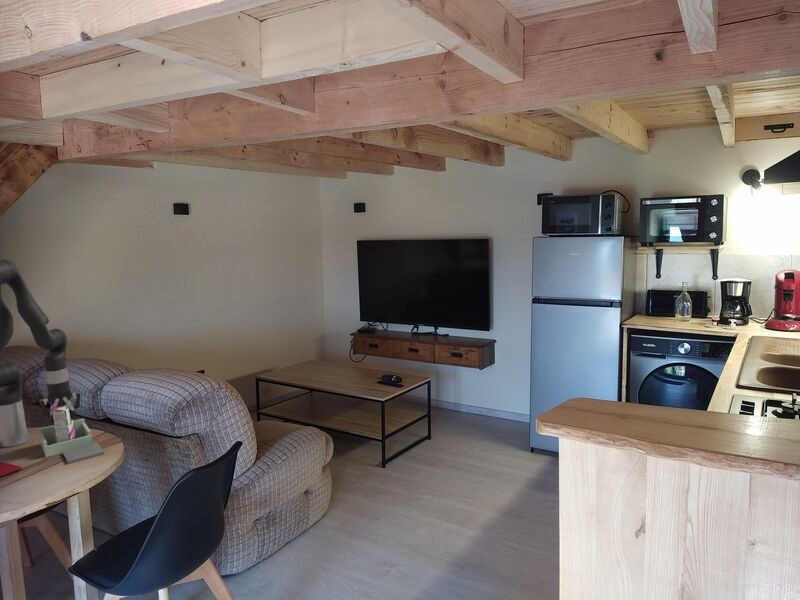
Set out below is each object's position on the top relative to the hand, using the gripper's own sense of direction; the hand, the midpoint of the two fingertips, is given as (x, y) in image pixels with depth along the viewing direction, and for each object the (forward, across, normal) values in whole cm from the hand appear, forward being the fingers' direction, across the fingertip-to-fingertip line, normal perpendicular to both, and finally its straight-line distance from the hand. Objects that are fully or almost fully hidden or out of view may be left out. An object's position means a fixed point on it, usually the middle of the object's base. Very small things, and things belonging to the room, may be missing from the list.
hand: (63, 421), depth 222 cm
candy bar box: (+10, 0, 0) cm, 10 cm away
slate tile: (+10, -4, +14) cm, 18 cm away
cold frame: (+10, 0, 0) cm, 10 cm away
